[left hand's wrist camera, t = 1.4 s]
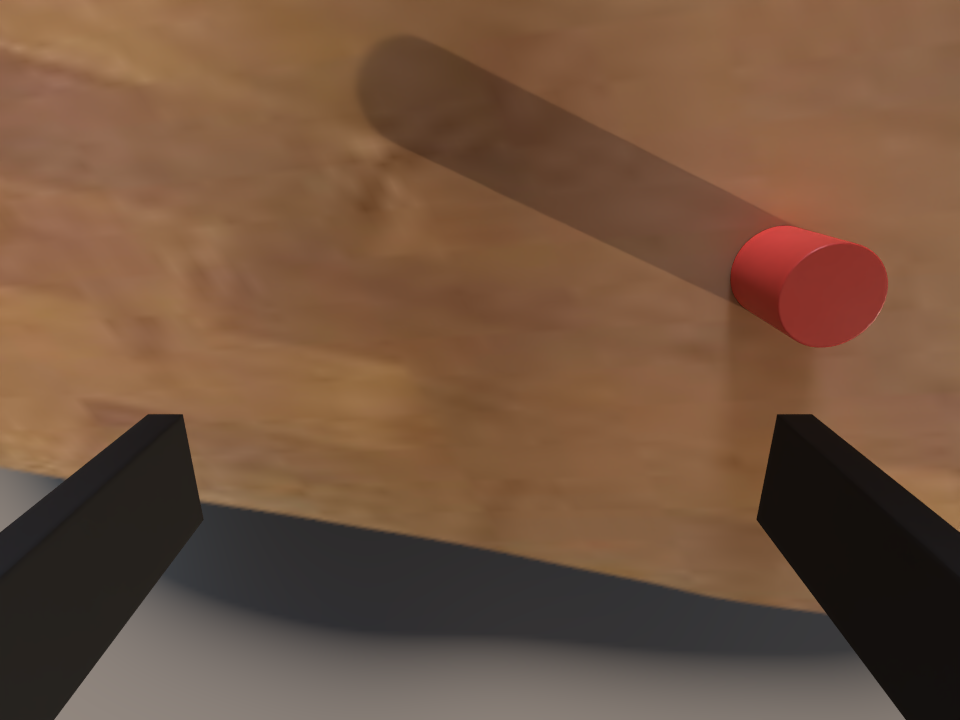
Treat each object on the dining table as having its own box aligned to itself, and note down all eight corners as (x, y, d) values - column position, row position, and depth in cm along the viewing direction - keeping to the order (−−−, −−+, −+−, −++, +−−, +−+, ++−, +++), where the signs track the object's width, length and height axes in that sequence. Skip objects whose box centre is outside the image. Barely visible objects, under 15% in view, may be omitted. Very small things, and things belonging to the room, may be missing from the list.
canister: (711, 275, 27) (755, 301, 22) (783, 205, 25) (845, 218, 21) (768, 332, 28) (821, 367, 23) (840, 267, 26) (910, 292, 22)
